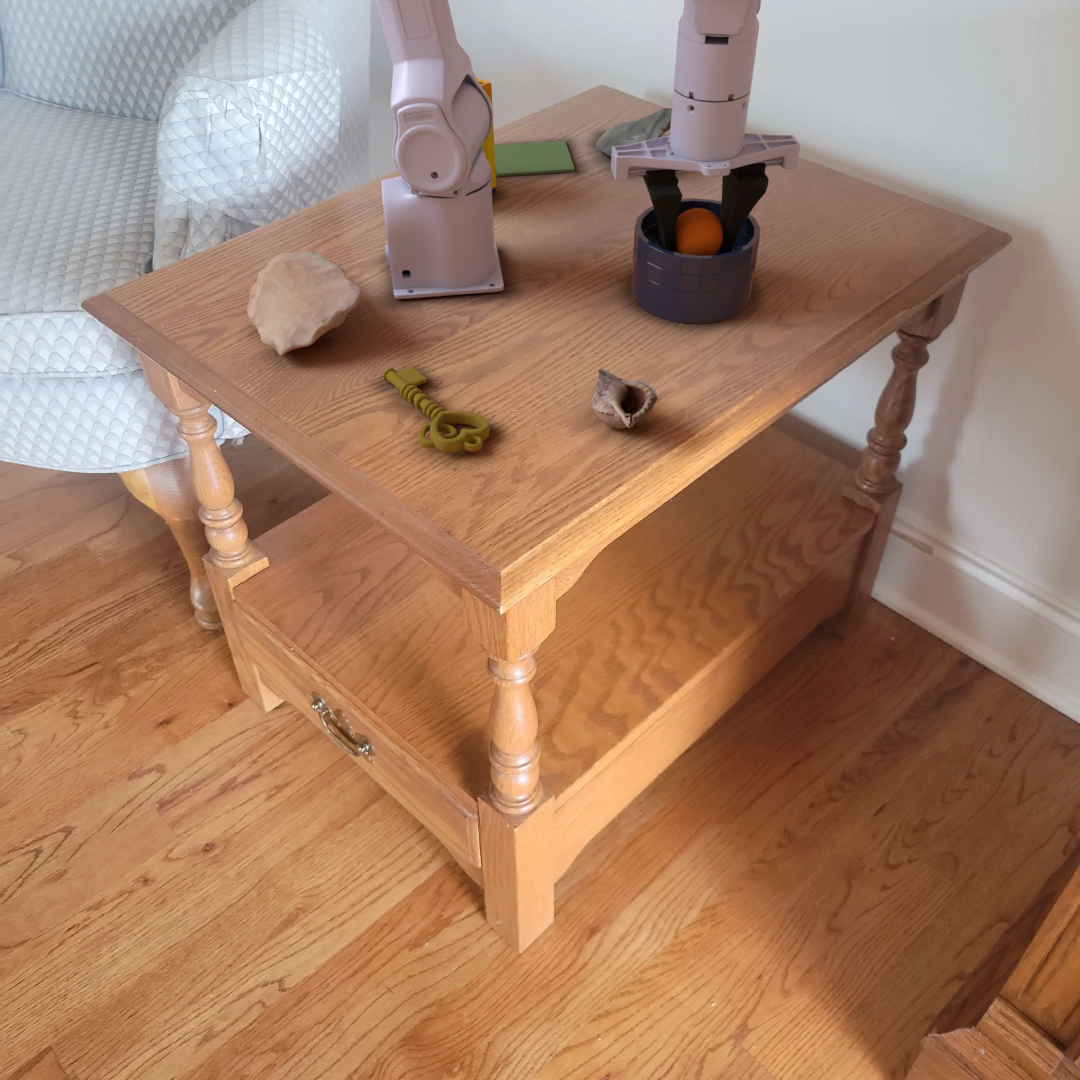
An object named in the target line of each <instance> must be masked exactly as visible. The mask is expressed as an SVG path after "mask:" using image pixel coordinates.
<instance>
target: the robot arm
mask: <svg viewBox="0 0 1080 1080" xmlns="http://www.w3.org/2000/svg"><path fill="white" fill-rule="evenodd" d="M375 2H376V6H377V10H378V14H379V17H380V21H381V26H382V28H383V32H384V36H385V39H386V44H387V47H388V51H389V54H390V55H389V56H390V58H391V62H392V77H391V78H392V79H391V80H392V82H391V90H390V111H391V114H392V118H393V122H394V134H393V140H392V145H391V154H392V160H393V163H394V167H395V169H396V171H397V173H398V174H399V175H397V176H395V177H390V178H384V179H381V184H380V185H381V197H382V199H381V200H382V209H383V218H384V226H385V236H386V242H387V243H385V245H384V246H385V258H386V265H387V266H390V274H391V281H392V288H393V289H392V290H393V297H394V298H395V299H396V300H407V299H420V298H433V297H445V296H447V297H448V296H457V295H471V294H482V293H483V294H484V293H497V292H502V291H504V289H505V284H504V278H503V273H502V268H501V263H500V257H499V252H498V248H497V243H495V227H494V225H495V224H494V207H493V195H492V183H491V168H490V165H489V163H488V161H487V159H486V157H485V155H484V152H483V150H482V143H483V141H484V140H485V139H486V138H487V137H488V135H489V133H490V131H491V128H492V125H493V126H494V109H493V103H492V104H491V101H490V99H489V97H488V95H487V93H486V92H485V91H484V89H483V88H482V87H481V85H480V84H479V83H478V81H477V79H476V78H477V77H476V75H475V72H474V69H473V65H472V59H471V57H470V56H469V54H468V53H467V52H466V51H465V50H464V48H463V47H462V46H461V45H460V44H459V41H458V39H457V35H456V34H457V33H456V30H455V25H454V21H453V16H452V12H451V8H450V3H449V0H375ZM761 5H762V0H684V1H683V11H682V15H681V16H680V18H679V21H678V26H677V40H676V52H675V64H674V65H675V66H674V79H673V89H672V90H673V91H672V101H671V102H672V103H671V109H672V114H671V127H670V129H669V134H668V135H664V136H660V137H659V138H655V139H651V140H647V141H643V142H638V143H634V144H629V145H622V146H612V152H611V156H610V172H611V174H612V177H613V179H614V181H616V182H619V181H627V180H629V177H634V176H642V178H643V181H644V183H645V186H646V189H647V192H648V195H649V197H650V201H651V204H652V206H653V207H654V211H655V215H656V219H657V224H658V229H659V236H660V247H661V248H663V249H665V250H668V251H672V252H675V240H676V224H677V218H678V212H679V208H680V203H681V199H683V193H682V191H681V189H680V187H679V178H678V177H677V175H676V174H680V173H681V174H682V173H693V172H695V173H702V175H703V176H704V177H707V178H708V177H709V178H714V177H722V178H721V179H722V181H721V201H720V202H721V210H720V216H719V220H720V222H721V224H722V227H723V233H724V237H723V243H722V245H721V248H720V250H719V252H720V254H724V253H728V252H731V251H732V249H733V246H734V243H735V241H736V239H737V236H738V234H739V232H740V230H741V228H742V226H743V224H744V222H745V220H746V218H747V217H748V215H749V214H750V215H751V213H752V211H753V209H754V208H755V207H756V205H757V204H758V202H759V201H760V200H761V199H762V198H763V197H764V195H765V194H766V192H767V190H768V186H769V177H768V175H767V174H766V168H768V167H781V169H783V170H795V169H797V166H798V161H799V155H800V149H801V144H800V142H799V141H798V140H797V138H796V137H795V136H794V135H793V134H767V133H754V132H746V128H747V121H748V113H749V105H750V98H751V91H752V85H753V78H754V77H753V76H754V70H755V63H756V62H755V61H756V54H757V47H758V39H759V32H760V21H759V19H758V15H759V13H760V11H761Z"/></svg>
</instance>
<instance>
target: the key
mask: <svg viewBox="0 0 1080 1080" xmlns="http://www.w3.org/2000/svg"><path fill="white" fill-rule="evenodd" d="M382 379H383V380H384V381H385V382H389V383H390V384H391V385H393V386H394V387H395V388H396V389H397V390H399V394H400V397H402V398H404V400H405V401H407V402H408V403H409V404H410V405H414V407H415V409H416V410H419V411H421V412H422V414H423V415H424V416H425V417H427V419H429V420H431V422H424V424H423V425H422V426H421V428H420V429H419V431H418V434H417V442H418V444H419V445H420V446H422V447H423V448H425V449H435V448H436V449H437V450H439V451H441V452H443V453H455V452H459V451H460V450H462V449H464V450H465V451H467V452H471V453H476V452H478V451H480V450H482V448H483V444H484V442H483V441H484V440H486V439H487V438H488V437H489V436H490V432H491V424H490V422H489V421H488V419H486V418H485V417H483V416H482V415H480V414H478V413H475V412H472V411H467V410H446V409H445V408H444V407H442V406H441V405H440V404H439V403H437V402H436V401H435V400H432V399H431V398H430V396H429V395H428V394H425V393H423V391H422V389H420V388H419V387H418V386H420V385H423V384H426V383H427V377H426V376H425V375H424V374H422V373H421V372H420V371H419V370H418V369H416V368H415V367H413V366H410V367H407V368H405V369H402V370H398V371H396V369H395V368H394V367H393V368H392V367H388V368H386V369H385V370H383V373H382ZM430 399H431V400H430ZM451 424H461V425H462V424H463V425H466V426H471V427H474V428H461V430H460V433H458V431H457V428H455V426H453V425H451ZM428 432H429V436H430V439H427V438H426V434H427V433H428ZM440 432H443V433H440Z"/></svg>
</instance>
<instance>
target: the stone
mask: <svg viewBox="0 0 1080 1080" xmlns="http://www.w3.org/2000/svg"><path fill="white" fill-rule="evenodd" d="M671 114H672V107H671V108H670V107H669V108H661V109H660V110H657V111H656V112H653V113H651V114H648V115H646V116H643V117H641V118H638V119H635V120H631V121H627V122H621V123H617V124H614V125H613V126H611V127H610V128H608V129H607V130H606V131H604V132H603V133H602V134H601V136H600V137H599V139H598V140H597V141H596V143H595V144H596V145H595V148H596V149H597V150H598V151H599V152H601V153H602V154H603V155H605V156H608V157H611V152H612V146H622V145H629V144H634V143H638V142H643V141H647V140H651V139H655V138H659V137H663V135H664V134H666V132H668V131H670V127H671Z"/></svg>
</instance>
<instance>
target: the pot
mask: <svg viewBox="0 0 1080 1080" xmlns="http://www.w3.org/2000/svg"><path fill="white" fill-rule="evenodd" d="M693 208H702V209H706V210H709V211H711V212H712V213H714V214H715V215H716V216H717V217H718V219H719V216H720V210H721V201H720V200H715V199H709V198H697V197H695V198H694V197H693V198H692V197H691V198H689V197H688V198H682V199H681V203H680V208H679V212H678V216H679V215H681V214H682V213H683V212H685V211H687V210H690V209H693ZM761 229H762V228H761V226H760V224H759V223H758V221H757V219H756V217H754V215H752V214H751V213H750V214H749V215H748V217H747V218H746V220H745V222H744V224H743V226H742V228H741V230H740V232H739V234H738V236H737V239H736V241H735V243H734V246H733V249H732V251H731V252H728V253H724V254H720V252H719V251H718V252H717V254H716V255H709V256H697V255H685V254H680V253H676V252H672V251H668V250H665V249H663V248H661V247H660V236H659V229H658V224H657V219H656V215H655V211H654V207H653V205H652V206H650V207H647V208H646V209H644V211H642V212H641V213H640V214H639V215H638V217H636V220H635V225H634V233H633V234H634V235H633V250H632V251H633V252H632V260H633V261H632V279H631V293H632V297H633V298H634V301H635V302H636V303H637V304H638V305H639V306H640V307H641V308H642V309H643V310H644V311H646V312H647V313H649V314H651V315H653V316H655V317H658V318H659V319H663V320H666V321H671V322H674V323H681V324H683V323H684V324H691V325H692V324H694V325H697V324H710V323H711V324H712V323H716V322H721V321H724V320H728V319H731V318H733V317H734V316H736V315H738V314H740V313H741V312H742V311H743V310H744V309H745V308H746V307H747V306H748V304H749V303H750V300H751V294H752V289H753V282H754V276H755V270H756V265H757V258H758V252H759V247H760V246H759V245H760V239H761Z"/></svg>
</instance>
